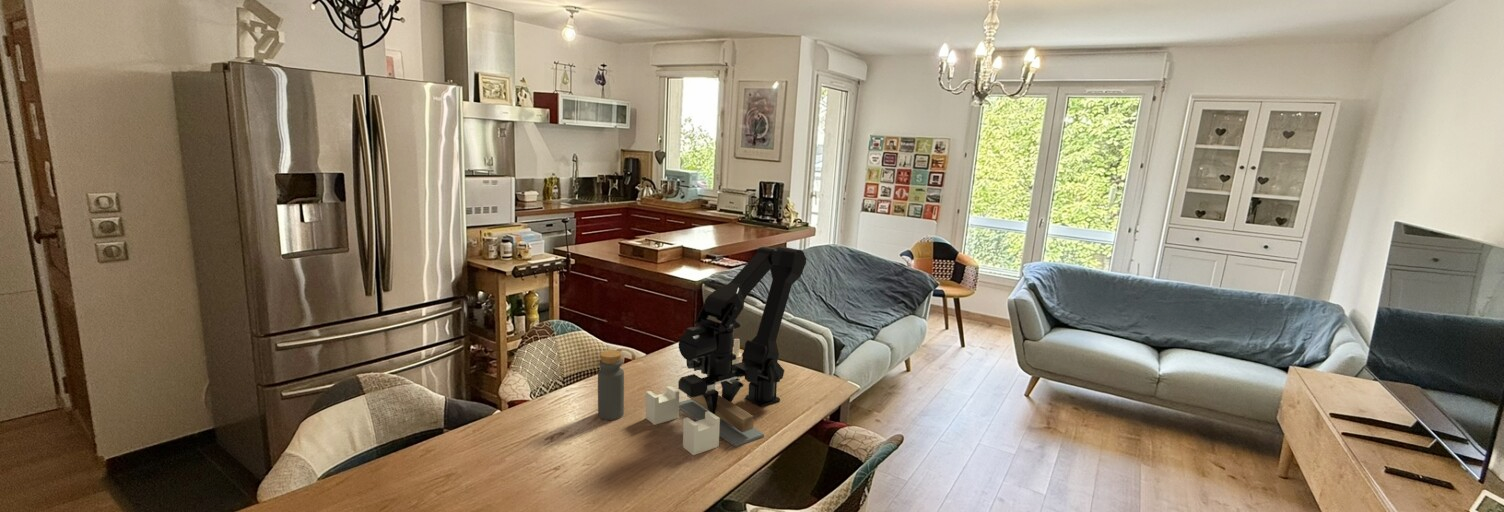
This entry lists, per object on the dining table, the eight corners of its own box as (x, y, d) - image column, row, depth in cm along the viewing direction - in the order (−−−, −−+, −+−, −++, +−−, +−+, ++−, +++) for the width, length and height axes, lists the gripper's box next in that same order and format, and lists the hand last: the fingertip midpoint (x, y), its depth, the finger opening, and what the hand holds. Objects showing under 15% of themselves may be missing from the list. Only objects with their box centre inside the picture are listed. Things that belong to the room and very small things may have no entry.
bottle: (617, 421, 137) (617, 359, 134) (593, 418, 138) (593, 356, 135) (627, 411, 143) (628, 350, 140) (604, 407, 144) (604, 347, 141)
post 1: (669, 411, 144) (670, 385, 142) (678, 417, 141) (679, 391, 139) (645, 418, 140) (646, 391, 138) (654, 424, 137) (654, 398, 135)
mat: (702, 397, 152) (703, 395, 152) (763, 436, 133) (764, 434, 133) (675, 405, 147) (675, 403, 147) (735, 446, 129) (735, 444, 128)
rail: (697, 393, 149) (697, 382, 149) (753, 428, 132) (753, 416, 132) (686, 396, 147) (687, 384, 147) (742, 432, 130) (742, 419, 130)
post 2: (708, 438, 131) (708, 411, 130) (718, 446, 128) (719, 418, 127) (682, 447, 127) (683, 418, 126) (693, 455, 124) (694, 426, 123)
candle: (724, 369, 171) (725, 334, 169) (742, 368, 172) (744, 333, 170) (728, 376, 166) (729, 340, 164) (746, 375, 167) (748, 339, 165)
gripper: (732, 332, 149) (729, 392, 152) (666, 346, 137) (665, 410, 140) (760, 345, 140) (757, 408, 143) (693, 361, 129) (691, 429, 132)
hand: (718, 413), depth 140 cm, fingers closed on rail, 3 cm apart
